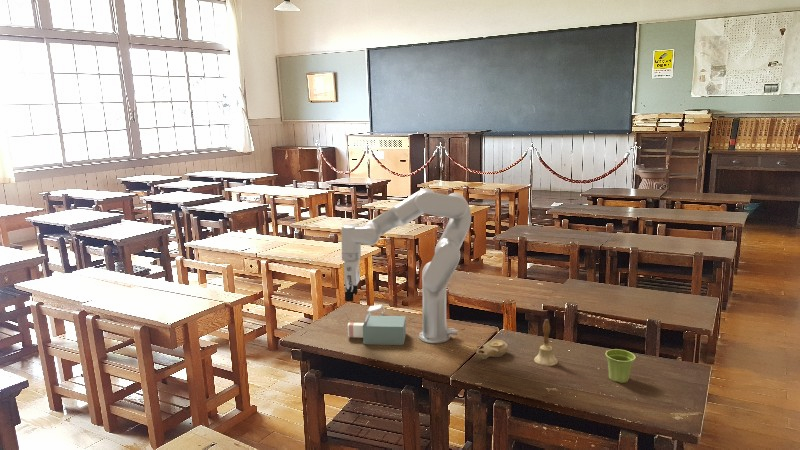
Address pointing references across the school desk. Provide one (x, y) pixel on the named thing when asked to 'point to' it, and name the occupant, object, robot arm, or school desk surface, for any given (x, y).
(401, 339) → the block
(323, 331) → the school desk surface
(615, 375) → the plant pot
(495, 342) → the oil lamp
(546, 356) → the hand bell
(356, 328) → the pink-banded cream bar
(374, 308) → the white scroll-footed stand
